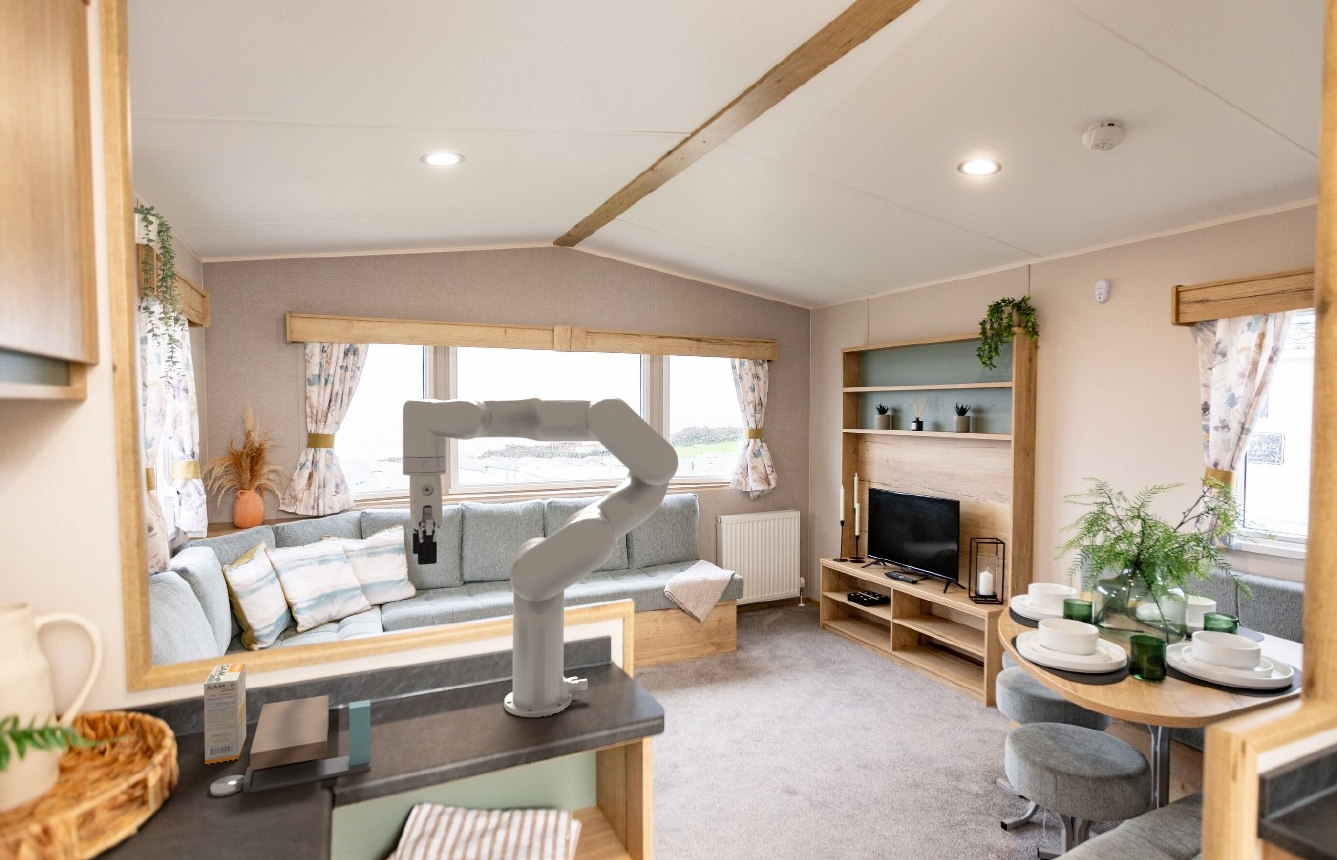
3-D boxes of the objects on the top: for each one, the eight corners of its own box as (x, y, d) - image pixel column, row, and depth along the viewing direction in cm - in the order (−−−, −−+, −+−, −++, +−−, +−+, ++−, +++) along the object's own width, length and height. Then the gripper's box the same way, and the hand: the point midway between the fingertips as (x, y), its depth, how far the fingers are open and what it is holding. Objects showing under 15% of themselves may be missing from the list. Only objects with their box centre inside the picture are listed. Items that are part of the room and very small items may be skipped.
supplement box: (213, 743, 117) (213, 665, 117) (246, 738, 119) (246, 661, 119) (203, 766, 110) (202, 683, 109) (238, 760, 111) (238, 678, 111)
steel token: (249, 780, 106) (249, 773, 106) (240, 794, 102) (239, 787, 102) (216, 784, 105) (216, 777, 105) (205, 799, 101) (205, 792, 101)
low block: (328, 727, 123) (328, 695, 123) (326, 778, 107) (326, 740, 106) (263, 737, 119) (262, 704, 119) (250, 792, 102) (249, 753, 102)
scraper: (369, 755, 114) (369, 696, 113) (370, 770, 109) (370, 709, 109) (247, 777, 107) (247, 714, 106) (243, 794, 102) (243, 728, 102)
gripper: (452, 469, 123) (452, 566, 124) (439, 462, 139) (439, 548, 140) (406, 470, 120) (406, 570, 121) (399, 463, 136) (399, 551, 136)
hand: (424, 558), depth 130 cm, fingers open, 9 cm apart
